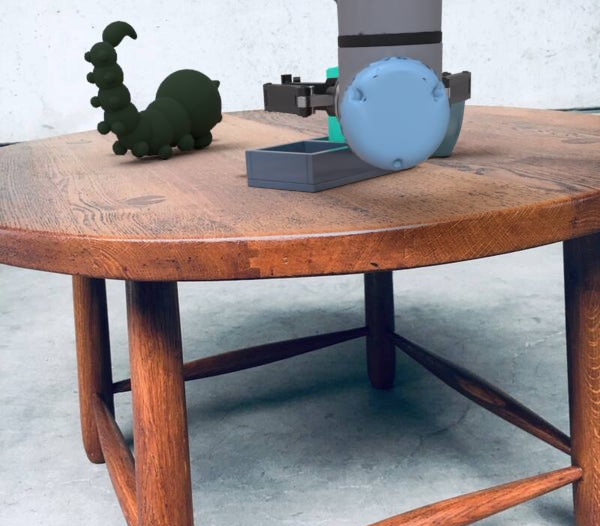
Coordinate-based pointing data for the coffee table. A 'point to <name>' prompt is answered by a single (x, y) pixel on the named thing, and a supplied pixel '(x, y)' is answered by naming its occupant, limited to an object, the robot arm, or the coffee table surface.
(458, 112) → the flower pot
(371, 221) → the coffee table surface
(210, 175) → the coffee table surface
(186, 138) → the toy figurine
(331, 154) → the divided storage tray
